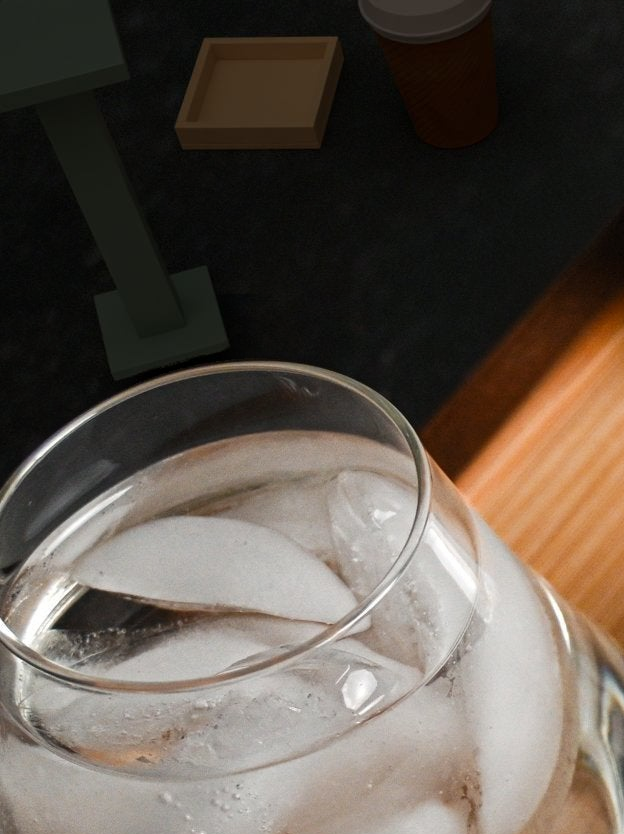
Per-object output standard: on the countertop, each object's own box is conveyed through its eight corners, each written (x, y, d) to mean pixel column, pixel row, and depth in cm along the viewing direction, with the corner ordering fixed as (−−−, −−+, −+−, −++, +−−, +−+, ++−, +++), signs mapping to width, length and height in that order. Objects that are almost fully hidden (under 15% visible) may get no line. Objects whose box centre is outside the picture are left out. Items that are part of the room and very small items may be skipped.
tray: (320, 149, 142) (313, 126, 141) (182, 150, 143) (173, 127, 141) (344, 58, 148) (338, 36, 146) (211, 60, 148) (203, 37, 147)
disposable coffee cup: (372, 152, 142) (331, 8, 132) (422, 71, 147) (386, -74, 136) (492, 173, 140) (460, 29, 130) (539, 90, 145) (511, -56, 135)
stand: (108, 388, 130) (-32, 102, 111) (88, 301, 135) (-49, 12, 115) (239, 351, 131) (124, 62, 112) (215, 266, 136) (100, -26, 117)
